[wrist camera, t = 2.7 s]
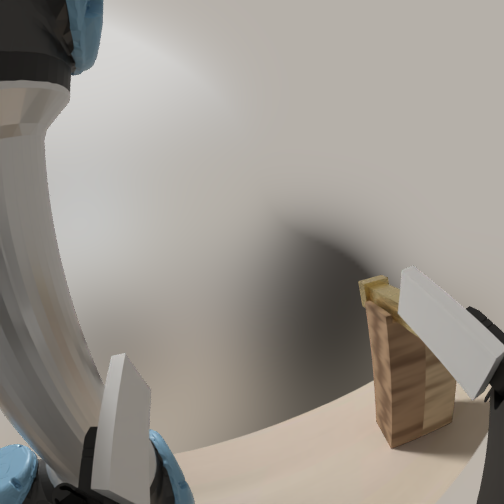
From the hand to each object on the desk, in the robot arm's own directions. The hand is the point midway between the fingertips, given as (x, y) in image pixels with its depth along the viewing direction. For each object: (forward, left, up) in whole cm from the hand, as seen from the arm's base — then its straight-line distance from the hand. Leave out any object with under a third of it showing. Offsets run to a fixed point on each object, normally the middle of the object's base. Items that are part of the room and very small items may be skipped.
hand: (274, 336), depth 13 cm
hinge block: (+12, +32, -35) cm, 49 cm away
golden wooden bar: (+10, +29, -11) cm, 32 cm away
